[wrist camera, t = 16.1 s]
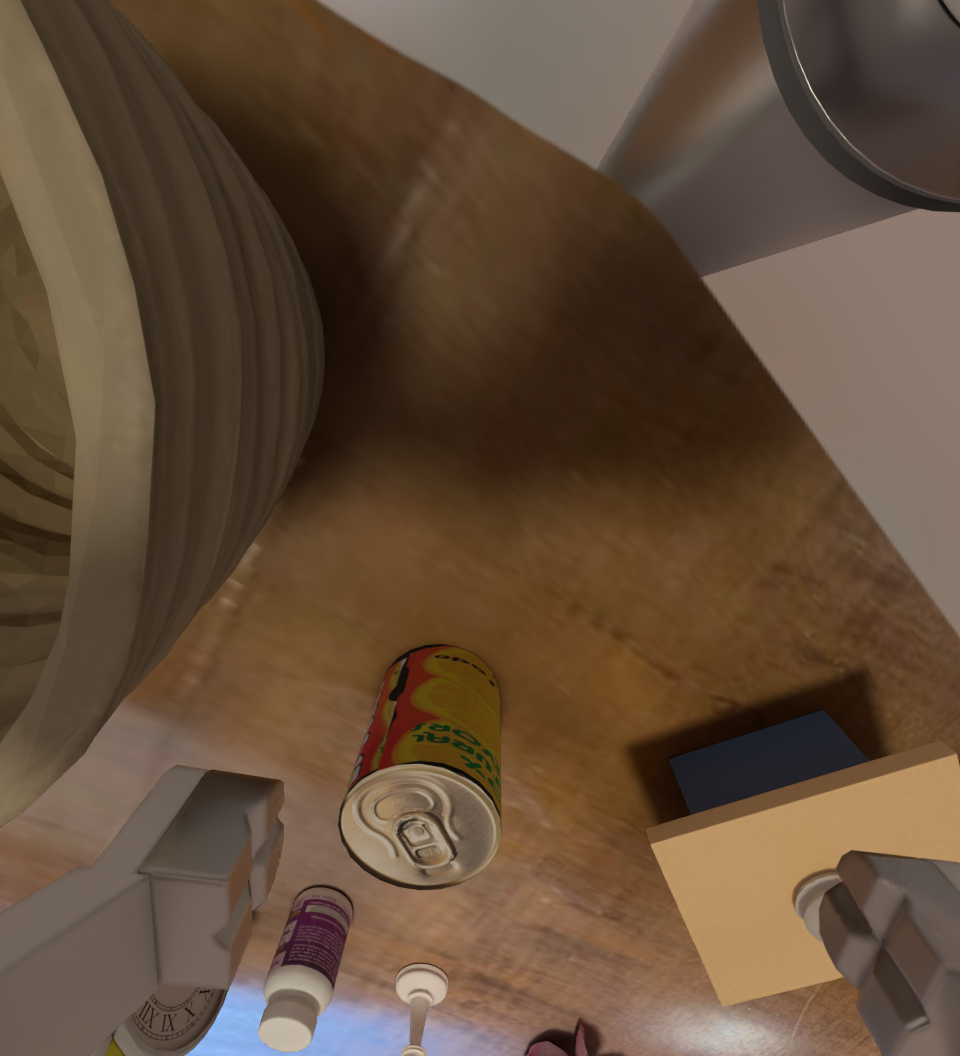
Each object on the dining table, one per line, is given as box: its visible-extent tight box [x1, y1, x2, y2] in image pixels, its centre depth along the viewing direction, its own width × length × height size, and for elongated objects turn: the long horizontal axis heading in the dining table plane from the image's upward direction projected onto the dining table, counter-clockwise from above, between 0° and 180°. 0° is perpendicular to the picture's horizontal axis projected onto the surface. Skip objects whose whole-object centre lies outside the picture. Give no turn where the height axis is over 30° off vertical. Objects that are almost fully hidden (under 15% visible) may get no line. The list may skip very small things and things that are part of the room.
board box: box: [646, 710, 960, 1007], centre depth 39 cm, size 18×16×9 cm
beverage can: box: [338, 645, 501, 890], centre depth 36 cm, size 9×9×12 cm
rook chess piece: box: [795, 872, 841, 945], centre depth 31 cm, size 4×4×8 cm
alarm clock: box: [88, 984, 228, 1056], centre depth 41 cm, size 12×7×15 cm, turn 25°
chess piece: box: [396, 964, 448, 1056], centre depth 47 cm, size 5×5×10 cm
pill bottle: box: [258, 887, 353, 1052], centre depth 44 cm, size 5×5×10 cm
